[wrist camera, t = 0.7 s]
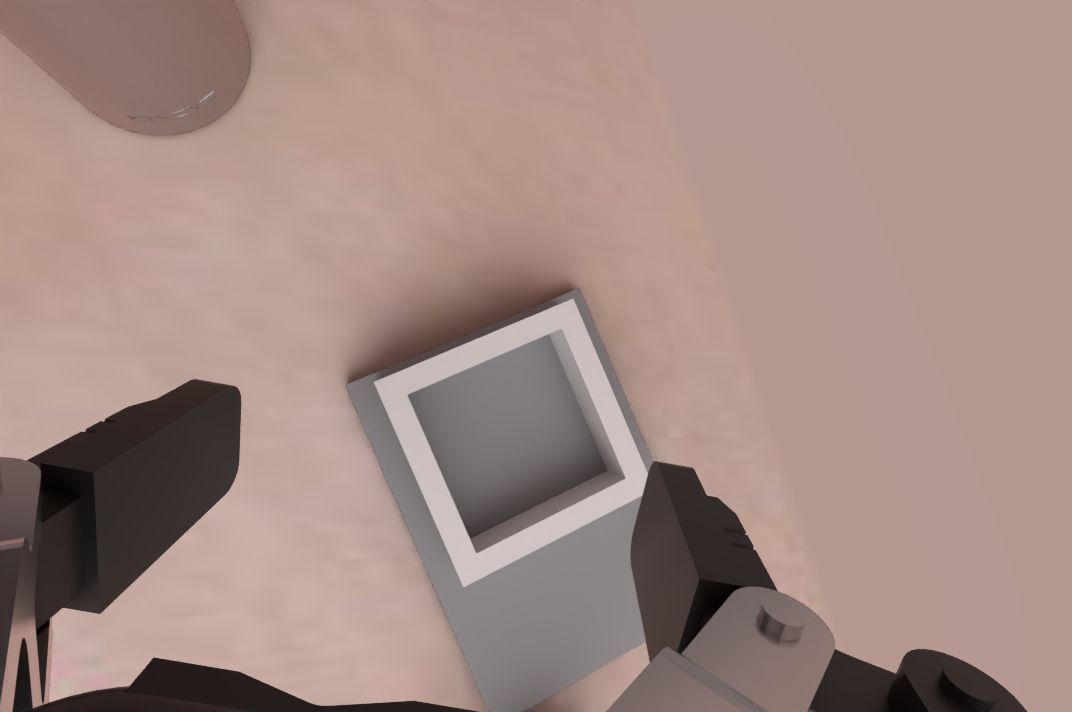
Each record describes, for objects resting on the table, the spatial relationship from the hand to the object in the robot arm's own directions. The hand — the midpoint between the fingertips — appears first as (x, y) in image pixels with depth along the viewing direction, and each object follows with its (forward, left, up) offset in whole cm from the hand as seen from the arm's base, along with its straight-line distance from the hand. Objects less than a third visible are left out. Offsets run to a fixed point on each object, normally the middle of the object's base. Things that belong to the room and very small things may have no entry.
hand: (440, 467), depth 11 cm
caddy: (+7, +4, -22) cm, 23 cm away
